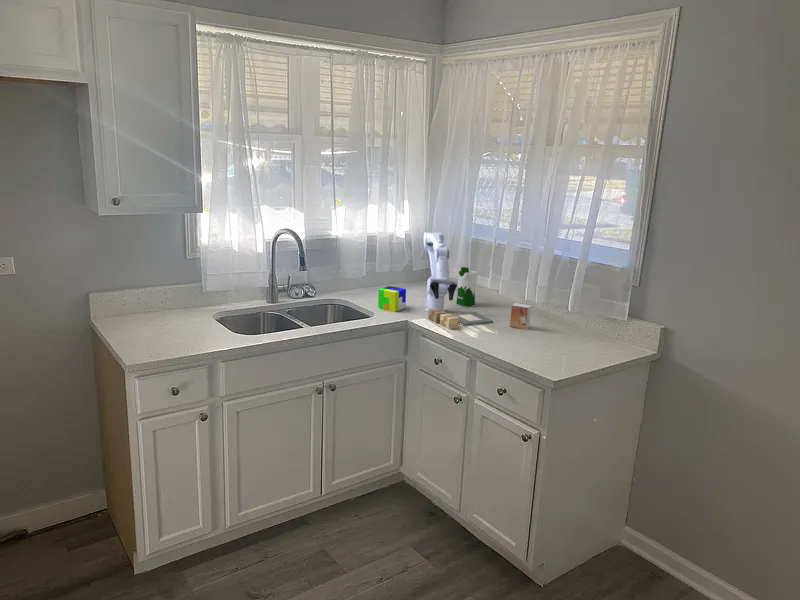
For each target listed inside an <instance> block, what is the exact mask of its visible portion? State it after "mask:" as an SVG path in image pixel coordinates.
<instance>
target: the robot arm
mask: <svg viewBox="0 0 800 600" xmlns="http://www.w3.org/2000/svg"><path fill="white" fill-rule="evenodd" d="M444 241H445V235H444V232H442V231H441V232H434V231H433V232H432V231H431V232H427V231H424V233H423V247H424V251H426V252H427V254H428V256H429V264H430V272H431V276H430V277H429V278H428V279H427V281H426V292H427V296H426V303H425V306H426V307H425V308H424V311H425V312H427V313H428V309H434V308H438V309H440V310H442V311H444V312H446V314H448V312H447V311H445V310H444V309H445V297H446V295H447V294H448V300H449V302H451V301H453V300H454V295H455V292H456V290H457V288H458V281H456V280H452V279H450V271H449V270H450V269H449V268H450V267H449V258H450V249H449V246H446V245H445V243H444Z"/></svg>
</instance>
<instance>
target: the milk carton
mask: <svg viewBox="0 0 800 600" xmlns="http://www.w3.org/2000/svg"><path fill="white" fill-rule="evenodd" d="M478 274H479V272H478V271H475V270H470V268H469V267H466V266H462V267H460V270H457V278H458V279H457V284H458V286H457V292H456V293H457V295H456V296H457V297H456V303H455V304H456V305H458V304H459V305H458V306H460V305H462V306H461V307H463V306H464V308H466V307H465V306H469V307H473V306H472V305H475V306H476V288H477V287H476V285H477V277H478Z"/></svg>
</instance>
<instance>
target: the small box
mask: <svg viewBox="0 0 800 600" xmlns="http://www.w3.org/2000/svg"><path fill="white" fill-rule="evenodd" d="M510 310H511V311H510V320H509V327H510V328H516V329H520V330H525V331H526V330H527V329H529V328H530V324H531V323H530V322H531V315H532V314H531V313H532V305H529V304H523V303H517V302H514V303H513V304H511V308H510Z"/></svg>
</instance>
